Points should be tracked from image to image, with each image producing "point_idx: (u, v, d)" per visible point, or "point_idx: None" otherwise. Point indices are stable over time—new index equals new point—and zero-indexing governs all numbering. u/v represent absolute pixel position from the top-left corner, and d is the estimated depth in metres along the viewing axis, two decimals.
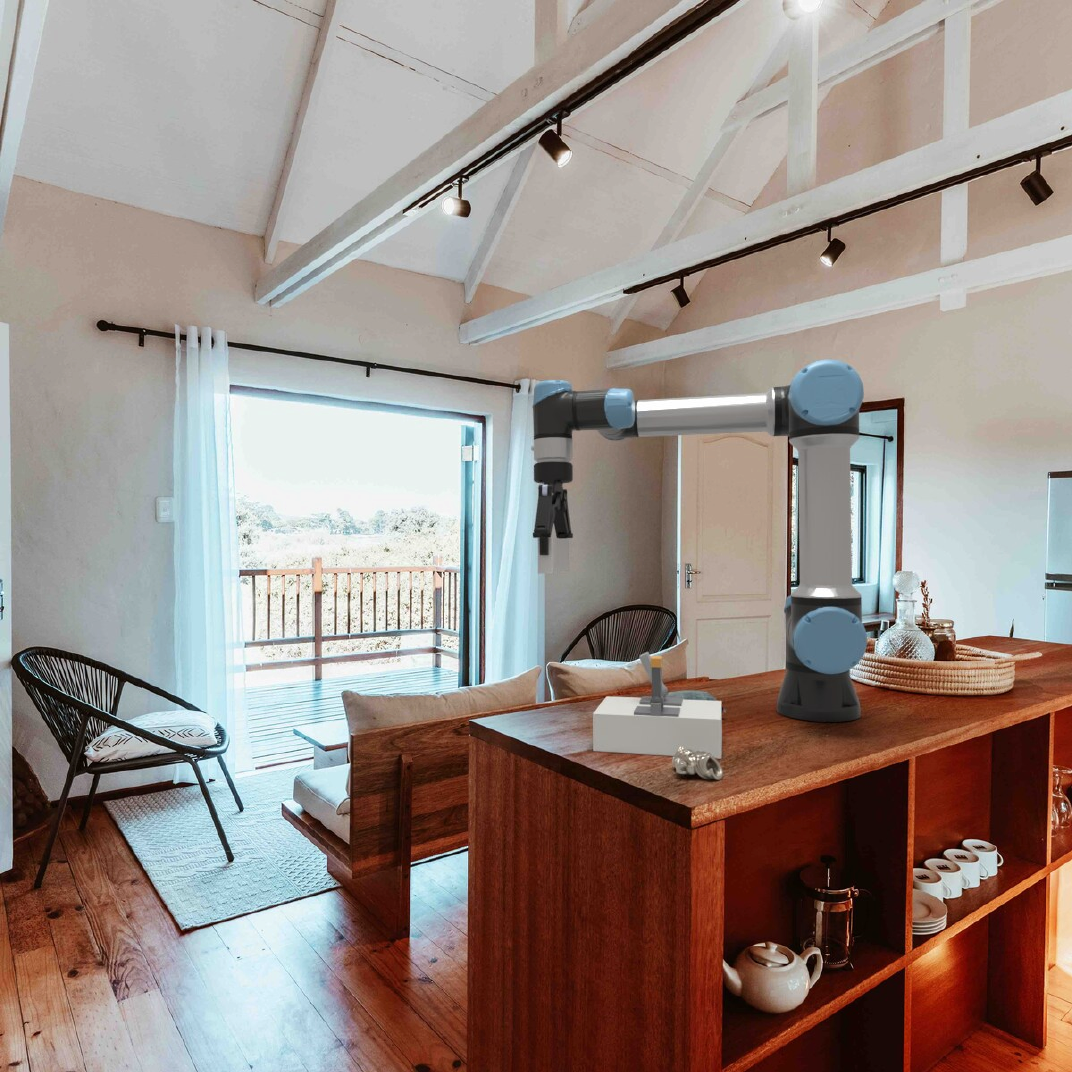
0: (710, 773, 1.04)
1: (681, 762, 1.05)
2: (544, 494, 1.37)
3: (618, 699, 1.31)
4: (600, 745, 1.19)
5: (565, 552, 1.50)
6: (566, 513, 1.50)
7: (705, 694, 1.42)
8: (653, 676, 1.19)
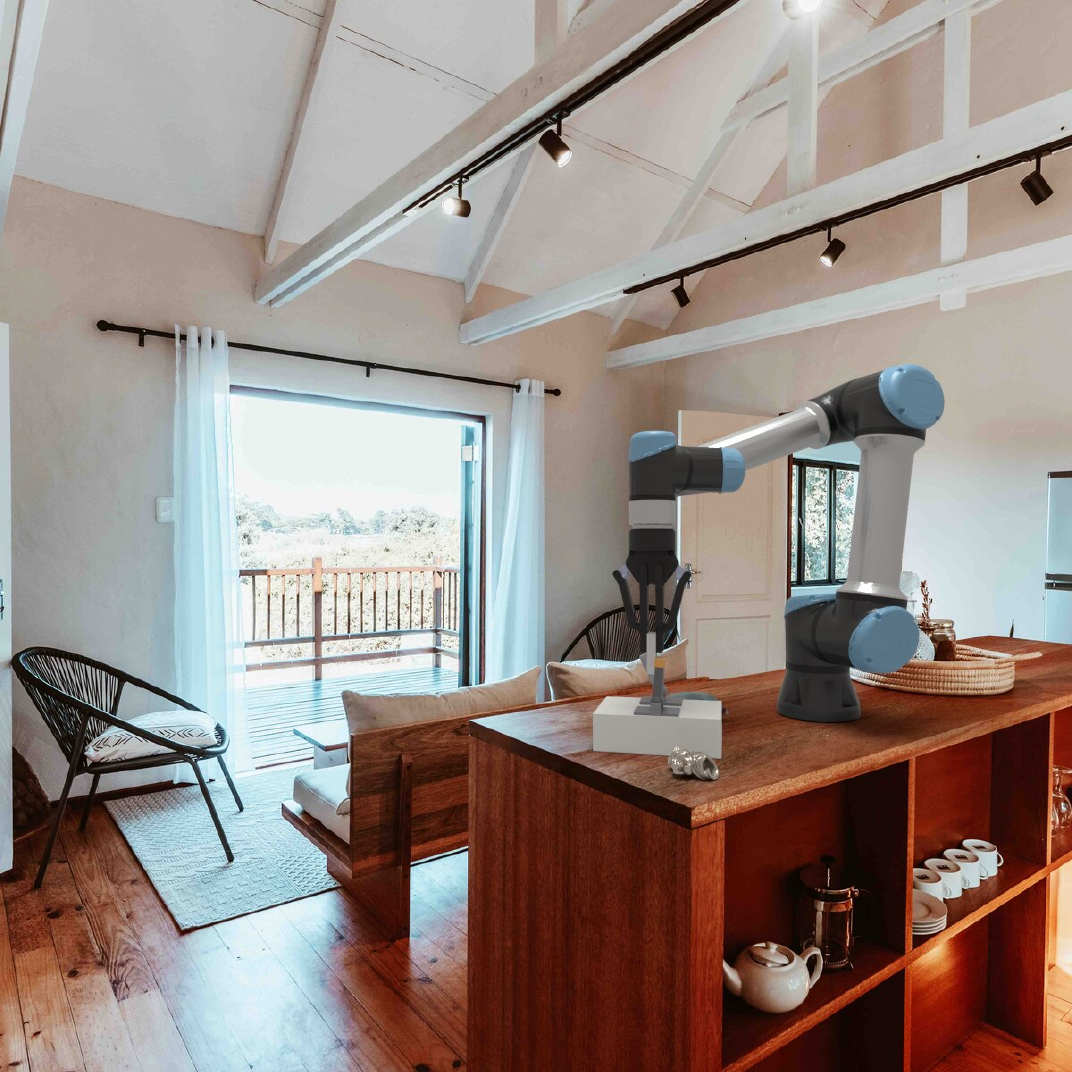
0: (707, 773, 1.04)
1: (678, 762, 1.05)
2: None
3: (618, 699, 1.31)
4: (600, 745, 1.19)
5: None
6: (673, 598, 1.19)
7: (707, 695, 1.41)
8: (655, 676, 1.19)
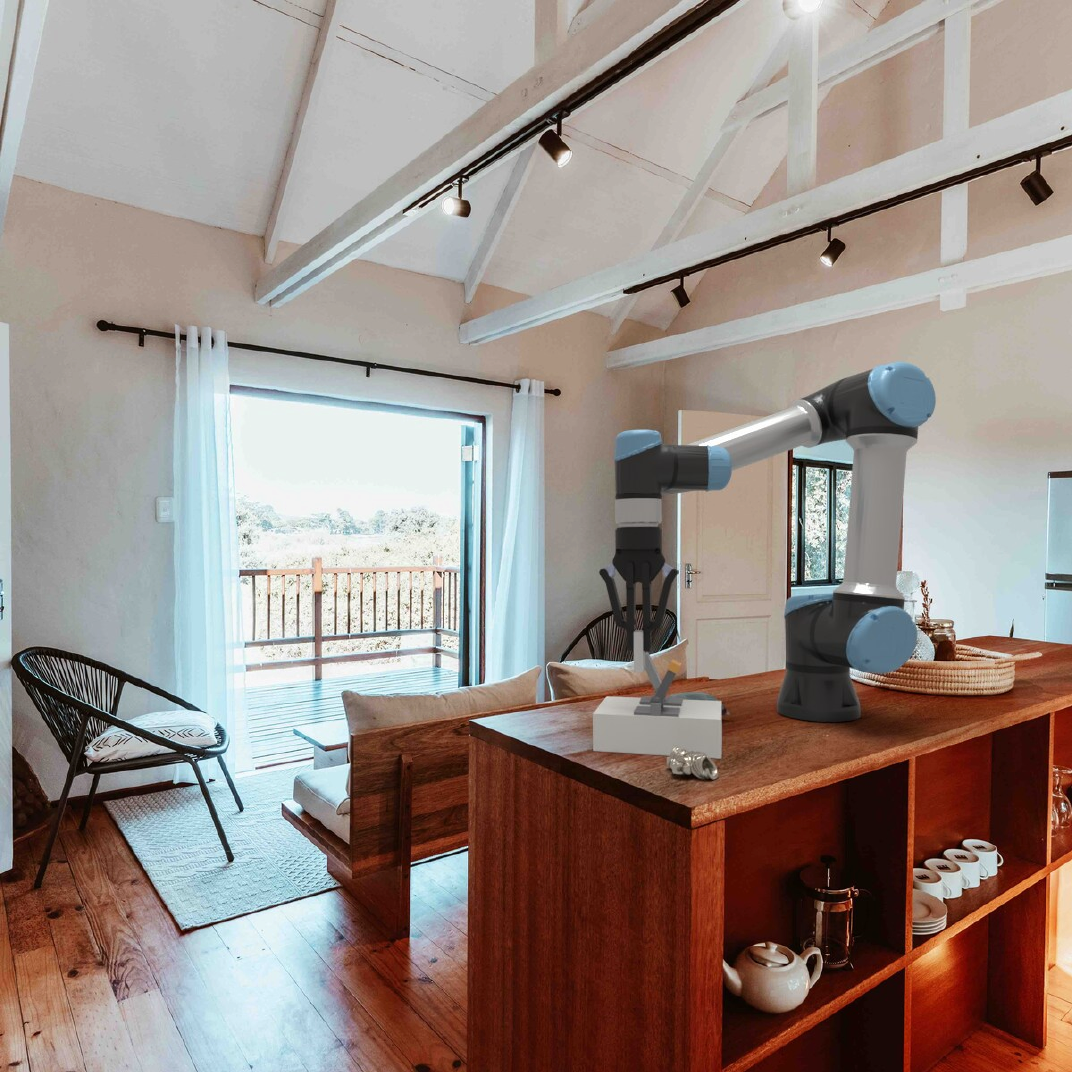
0: (706, 773, 1.04)
1: (677, 762, 1.05)
2: None
3: (618, 699, 1.31)
4: (600, 745, 1.19)
5: None
6: (660, 596, 1.19)
7: (708, 696, 1.40)
8: (665, 678, 1.19)
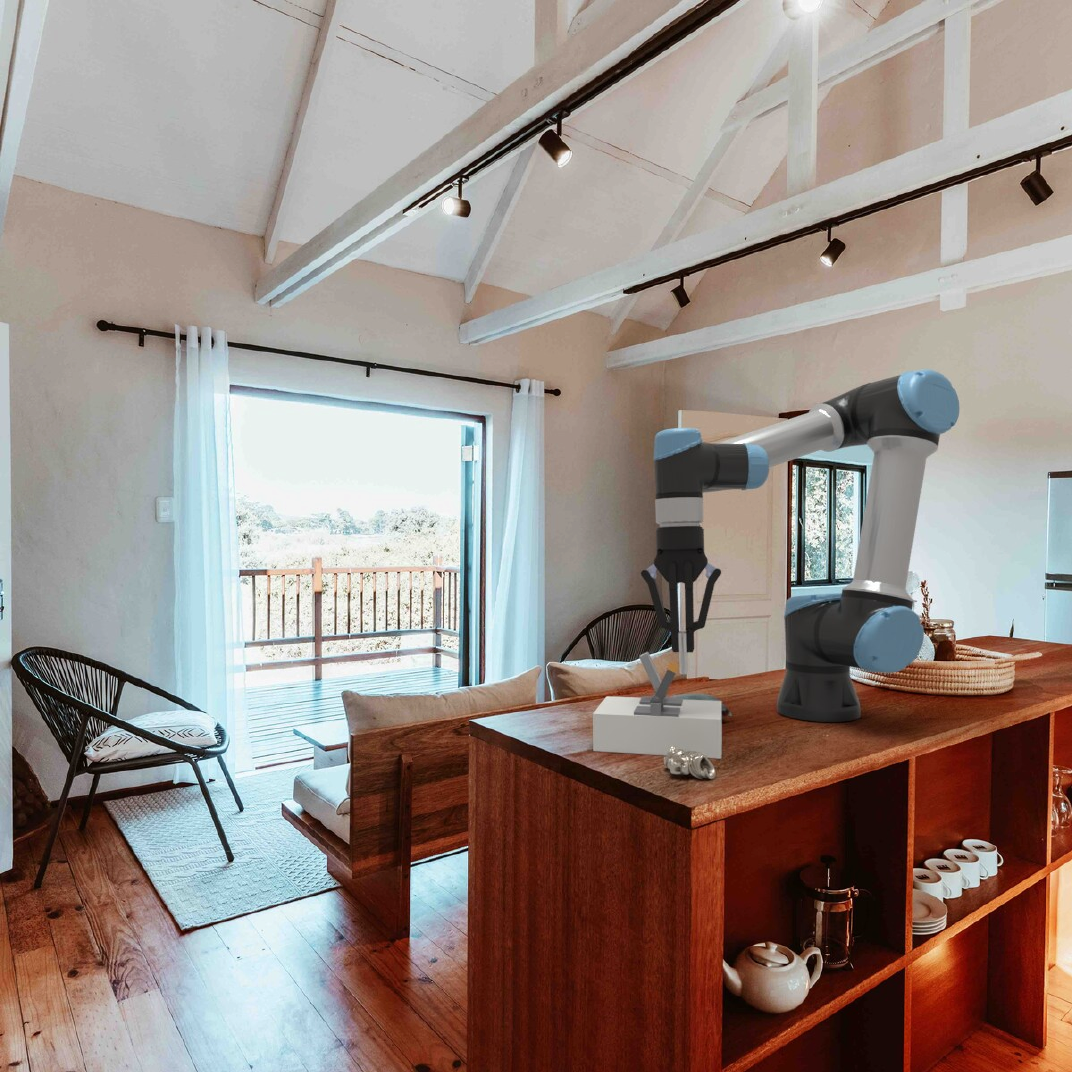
0: (704, 773, 1.04)
1: (675, 762, 1.05)
2: None
3: (618, 699, 1.31)
4: (600, 745, 1.19)
5: None
6: None
7: (710, 697, 1.39)
8: (665, 678, 1.19)
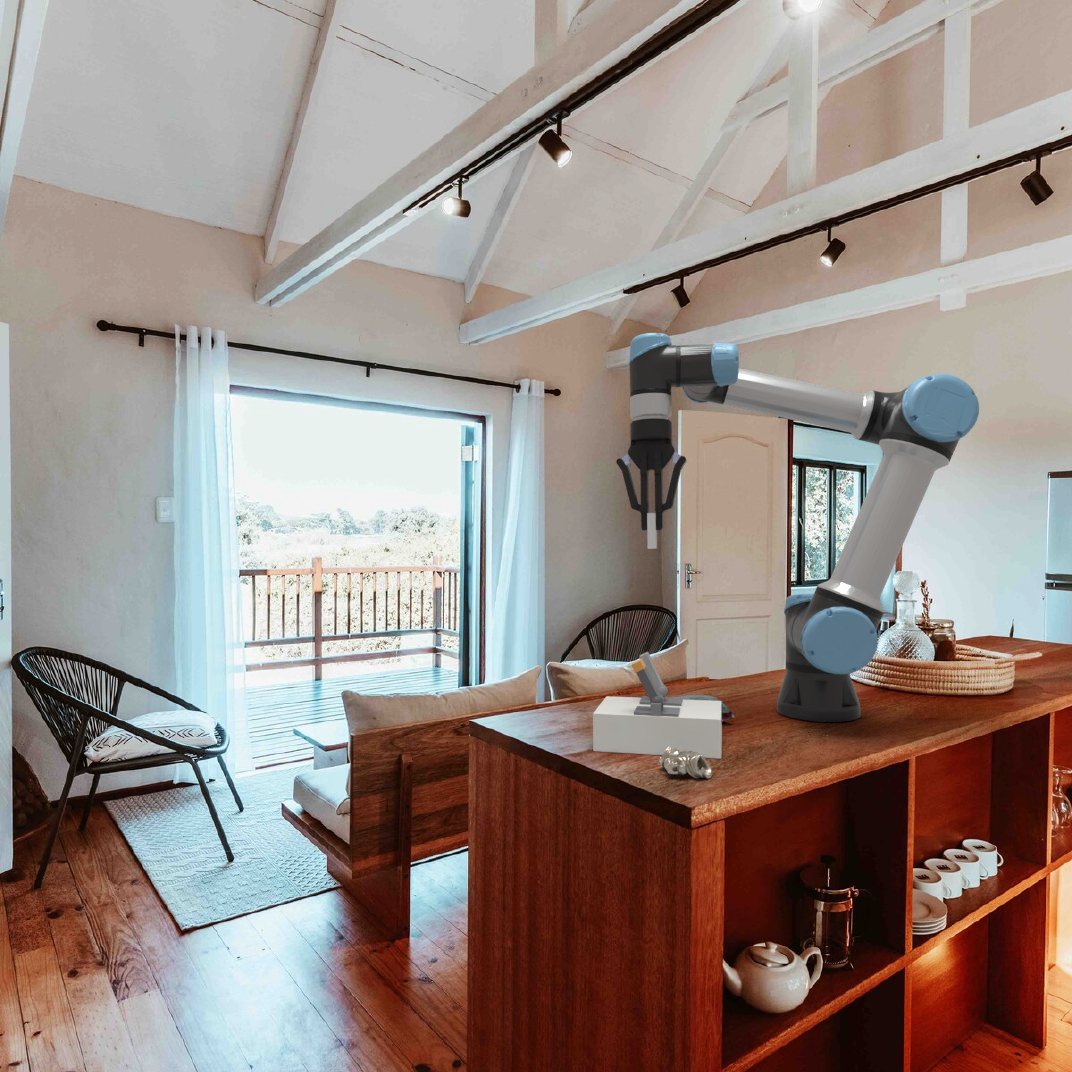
0: (702, 772, 1.04)
1: (673, 762, 1.05)
2: None
3: (618, 699, 1.31)
4: (600, 745, 1.19)
5: None
6: None
7: (713, 699, 1.38)
8: (641, 680, 1.20)
